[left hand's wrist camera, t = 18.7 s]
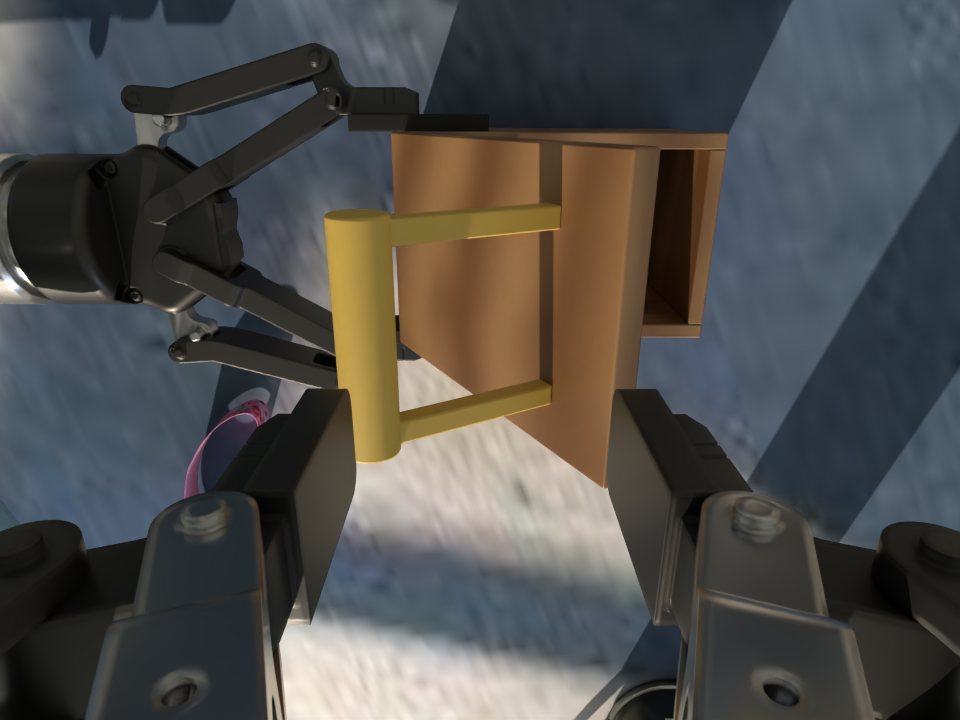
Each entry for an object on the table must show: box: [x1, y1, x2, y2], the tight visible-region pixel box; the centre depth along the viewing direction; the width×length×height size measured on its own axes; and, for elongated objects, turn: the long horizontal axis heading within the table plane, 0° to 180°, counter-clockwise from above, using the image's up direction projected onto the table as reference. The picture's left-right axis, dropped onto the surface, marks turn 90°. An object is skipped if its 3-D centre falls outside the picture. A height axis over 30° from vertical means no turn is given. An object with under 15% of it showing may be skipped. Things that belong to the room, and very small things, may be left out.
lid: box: [324, 132, 660, 488], centre depth 22 cm, size 15×10×8 cm
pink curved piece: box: [185, 400, 269, 498], centre depth 44 cm, size 11×4×2 cm, turn 156°
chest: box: [403, 128, 728, 337], centre depth 34 cm, size 15×10×9 cm, turn 90°
